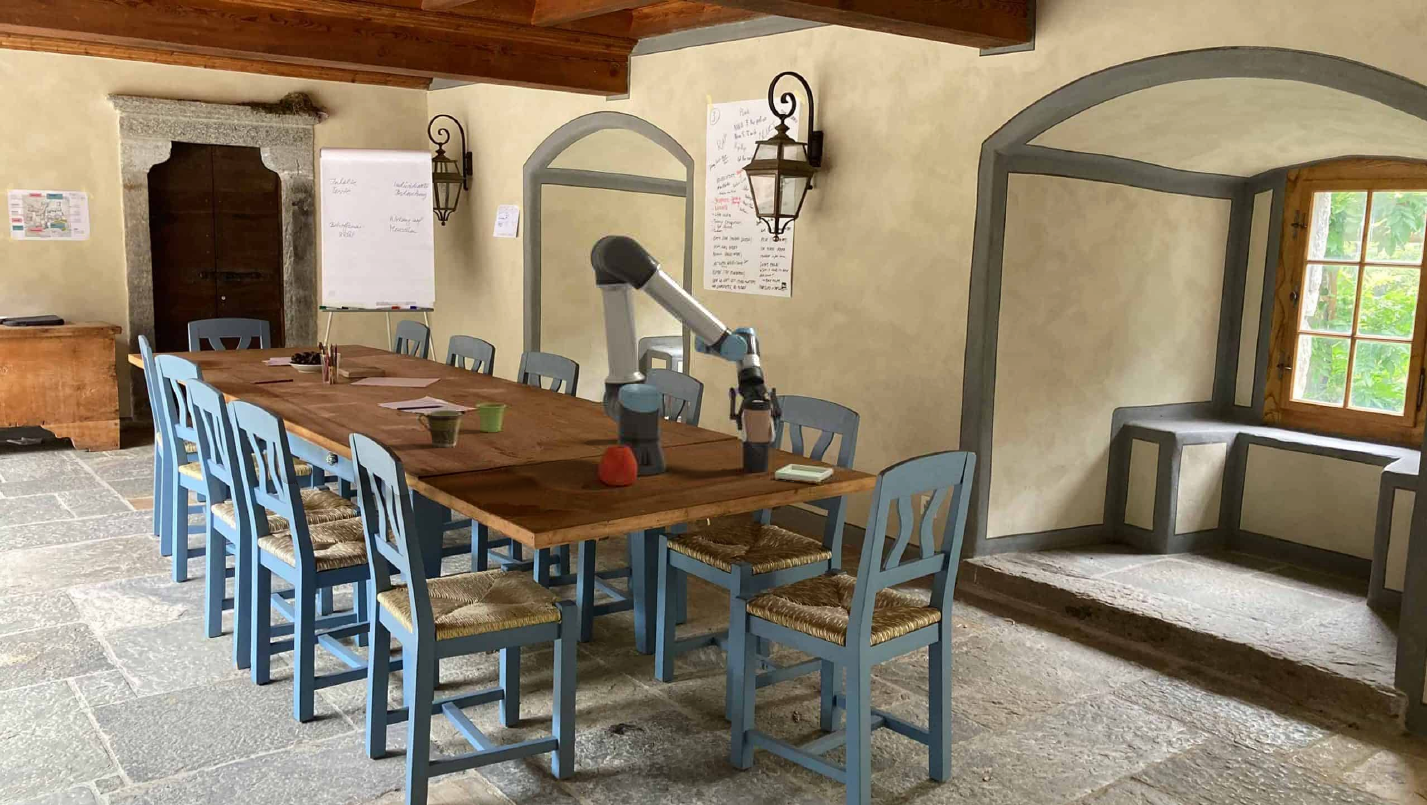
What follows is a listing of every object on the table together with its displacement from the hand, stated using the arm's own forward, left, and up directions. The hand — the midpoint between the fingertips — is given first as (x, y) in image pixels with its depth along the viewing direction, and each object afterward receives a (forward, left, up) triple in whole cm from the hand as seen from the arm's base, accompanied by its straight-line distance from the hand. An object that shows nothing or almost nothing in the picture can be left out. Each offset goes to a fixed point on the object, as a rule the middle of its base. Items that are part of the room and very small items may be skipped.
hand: (759, 438), depth 309 cm
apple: (-32, +27, -10) cm, 43 cm away
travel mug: (+3, +2, -10) cm, 10 cm away
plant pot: (+13, +99, -10) cm, 100 cm away
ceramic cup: (-15, +98, -10) cm, 99 cm away
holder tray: (0, -14, -10) cm, 17 cm away
